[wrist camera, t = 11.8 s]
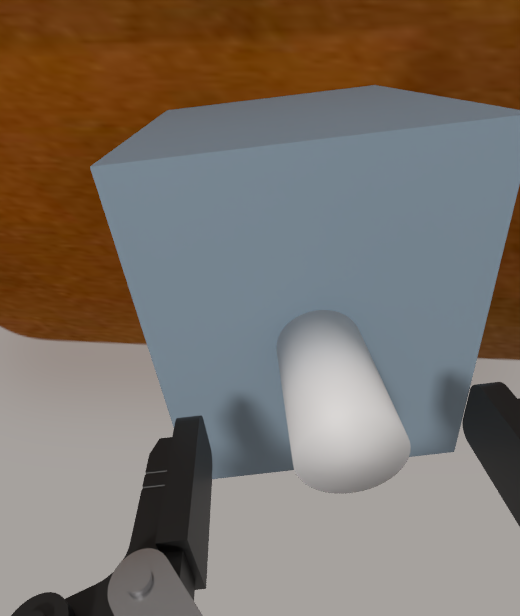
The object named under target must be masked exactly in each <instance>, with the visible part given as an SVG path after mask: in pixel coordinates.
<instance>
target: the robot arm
mask: <svg viewBox="0 0 520 616" xmlns="http://www.w3.org/2000/svg"><path fill="white" fill-rule="evenodd" d="M463 430H464V434H465V437H466V439H467V441H468V443H469V444H470V446H471V448H472V449H473V451H474V453H475V454H476V456H477V458H478V459H479V461H480V462H481V464H482V466H483V467H484V469H485V471H486V472H487V474H488V476H489V477H490V479H491V480H492V482H493V484H494V485H495V487H496V488H497V490H498V492H499V493H500V495H501V497H502V498H503V500H504V502H505V503H506V505H507V506H508V508H509V510H510V511H511V513H512V515H513V516H514V518H515V520H516V521H517V523H518V525H519V526H520V399H517V398H516V397H515V396H514V395H513V393H512V392H511V391H510V390H509V388H508V387H507V386H506V385H505V384H503V383H501V382H495V383H487V384H478V385H473V386H472V387H471V389H470V393H469V397H468V401H467V405H466V409H465V413H464V418H463ZM211 486H212V452H211V447H210V443H209V439H208V435H207V431H206V427H205V424H204V420H203V417H202V415H199V416H191V417H182V418H177V419H176V421H175V426H174V432H173V437H170V438H161V439H159V441H158V442H157V444H156V445H155V447H154V448H153V450H152V451H151V453H150V455H149V459H148V464H147V468H146V475H145V477H144V482H143V490H142V491H141V496H140V500H139V505H138V510H137V514H136V519H135V523H134V528H133V533H132V537H131V542H130V546H129V549H128V552H127V554H126V556H125V558H124V559H123V560H122V561H121V563H120V564H119V565H118V566H117V568H116V569H115V571H114V572H113V573H112V574H111V575H110V576H108V577H107V578H106V579H104V580H103V581H101V582H99V583H97V584H96V585H94V586H91V587H89V588H87V589H85V590H83V591H81V592H79V593H77V594H74V595H72V596H70V597H68V598H66V599H64V598H63V597H61V596H60V595H59V594H56V593H52V592H49V593H42V594H39V595H36V596H34V597H32V598H31V599H29V600H27V601H26V602H25V603H24V604H22V605H21V606H20V607H19V608H18V609H17V610H16V611H15V612H14V613H13V614H12V615H11V616H202V614H201V612H200V611H199V609H198V607H197V606H196V604H195V603H194V591H195V590H198V589H205V588H206V578H207V560H208V559H207V558H208V541H209V523H210V505H211Z"/></svg>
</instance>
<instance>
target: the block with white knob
mask: <svg viewBox="0 0 520 616" xmlns="http://www.w3.org/2000/svg"><path fill="white" fill-rule="evenodd" d="M90 168H91V172H92V175H93V178H94V181H95V184H96V187H97V190H98V193H99V196H100V199H101V203H102V206H103V209H104V212H105V215H106V218H107V221H108V224H109V227H110V231H111V234H112V237H113V240H114V243H115V246H116V249H117V252H118V255H119V259H120V262H121V265H122V268H123V271H124V274H125V277H126V280H127V283H128V287H129V290H130V293H131V296H132V299H133V302H134V305H135V308H136V311H137V315H138V318H139V321H140V324H141V327H142V330H143V333H144V336H145V339H146V342H147V346H148V349H149V352H150V355H151V358H152V361H153V364H154V367H155V370H156V374H157V377H158V380H159V383H160V386H161V389H162V392H163V395H164V398H165V401H166V404H167V408H168V411H169V414H170V417H171V420H172V423H173V426H175V421H176V419H177V418H182V417H191V416H199V415H202V417H203V420H204V424H205V427H206V431H207V435H208V439H209V443H210V447H211V452H212V479H217V478H226V477H235V476H244V475H253V474H262V473H270V472H279V471H288V470H295V473H296V475H297V476H298V478H299V479H300V480H301V481H302V482H304V483H305V484H306V485H308V486H310V487H311V488H314V489H316V490H319V491H323V492H328V493H353V492H359V491H363V490H367V489H370V488H373V487H376V486H378V485H380V484H382V483H384V482H386V481H387V480H389V479H390V478H392V477H393V476H394V475H396V474H397V473H398V472H399V471H400V470H401V469H402V468H403V466H404V465H405V463H406V462H407V460H408V458H409V457H412V456H421V455H429V454H439V453H447V452H454V450H455V446H456V442H457V438H458V433H459V429H460V425H461V421H462V417H463V413H464V409H465V405H466V401H467V397H468V393H469V389H470V384H471V380H472V376H473V372H474V368H475V364H476V360H477V356H478V352H479V348H480V344H481V339H482V335H483V331H484V327H485V323H486V319H487V315H488V311H489V307H490V303H491V299H492V294H493V290H494V286H495V282H496V278H497V274H498V270H499V266H500V262H501V258H502V254H503V249H504V245H505V241H506V237H507V233H508V229H509V225H510V221H511V217H512V213H513V209H514V204H515V200H516V196H517V192H518V188H519V184H520V110H516V109H510V108H505V107H499V106H493V105H487V104H481V103H476V102H470V101H464V100H458V99H452V98H447V97H441V96H435V95H429V94H423V93H418V92H412V91H406V90H400V89H394V88H389V87H383V86H377V85H372V86H364V87H356V88H348V89H339V90H331V91H323V92H315V93H306V94H298V95H290V96H282V97H273V98H265V99H257V100H249V101H241V102H232V103H224V104H216V105H208V106H199V107H191V108H183V109H175V110H167V111H166V112H164V113H163V114H161V115H160V116H159V117H157V118H156V119H155V120H153V121H152V122H151V123H149V124H148V125H146V126H145V127H144V128H142V129H141V130H140V131H138V132H137V133H136V134H134V135H133V136H131V137H130V138H129V139H127V140H126V141H125V142H123V143H122V144H120V145H119V146H118V147H116V148H115V149H114V150H112V151H111V152H110V153H108V154H107V155H105V156H104V157H103V158H101V159H100V160H99V161H97V162H96V163H95V164H93V165H92V166H90Z"/></svg>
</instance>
